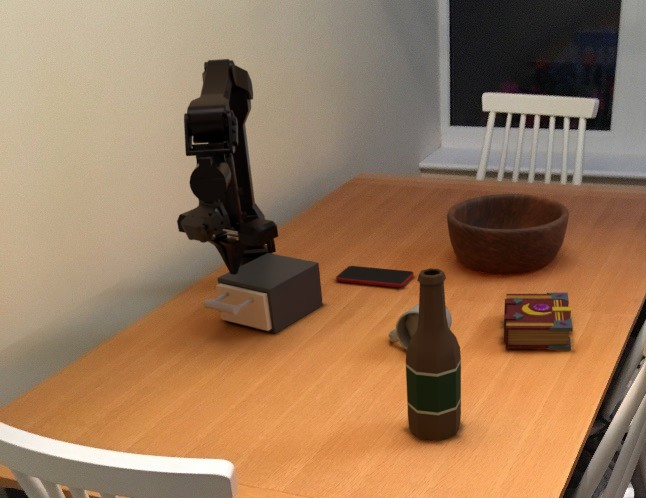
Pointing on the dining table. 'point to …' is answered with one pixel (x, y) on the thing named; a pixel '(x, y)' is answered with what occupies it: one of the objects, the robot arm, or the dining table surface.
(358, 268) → the smartphone
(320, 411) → the dining table surface
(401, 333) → the ceramic mug
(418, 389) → the beer bottle
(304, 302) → the cabinet
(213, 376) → the dining table surface
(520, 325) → the decorative book
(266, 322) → the drawer
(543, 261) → the wooden bowl
